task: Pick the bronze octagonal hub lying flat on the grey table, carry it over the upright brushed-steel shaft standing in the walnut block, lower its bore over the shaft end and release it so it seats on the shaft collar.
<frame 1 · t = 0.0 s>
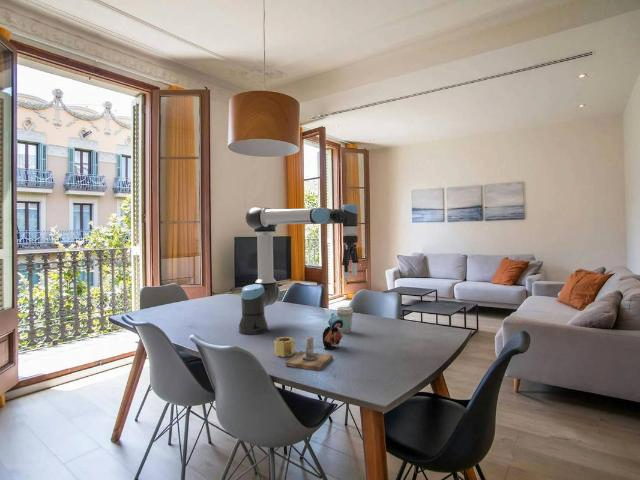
hand: (350, 277, 189), 28 cm above the table, fingers open, 13 cm apart
figurine: (333, 348, 164), on the table
hub: (284, 353, 157), on the table
shaft block: (309, 362, 146), on the table
coffee cup: (345, 332, 190), on the table
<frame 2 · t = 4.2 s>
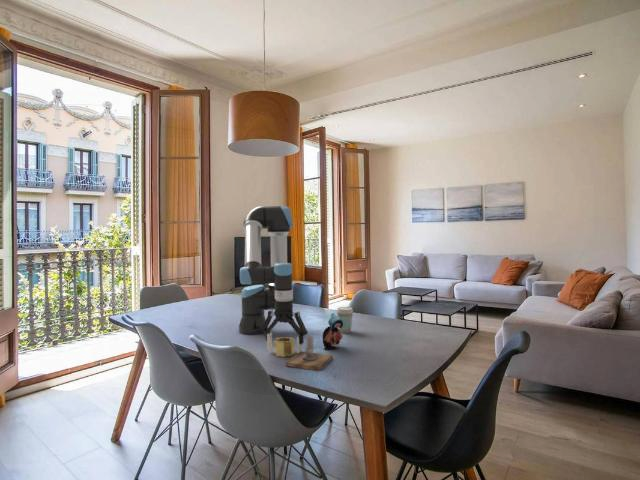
hand: (284, 350, 156), 1 cm above the table, fingers open, 13 cm apart
nothing on the table moved.
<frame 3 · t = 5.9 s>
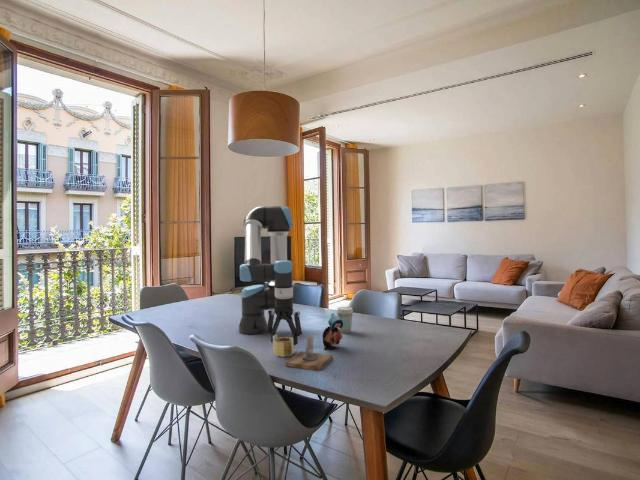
hand: (284, 351, 157), 1 cm above the table, fingers closed on hub, 8 cm apart
hub: (284, 353, 157), on the table, touching gripper
everything else where it was.
when the fingers open (4 cm above the table, at t = 10.6 s): hub stays where it is, resting on shaft block.
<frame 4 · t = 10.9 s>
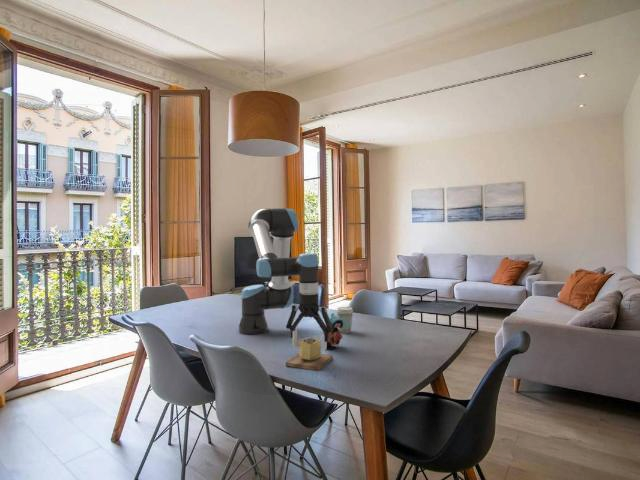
hand: (309, 348, 146), 6 cm above the table, fingers open, 12 cm apart
hub: (309, 355, 146), point 2 cm above the table, touching shaft block
everything else where it was.
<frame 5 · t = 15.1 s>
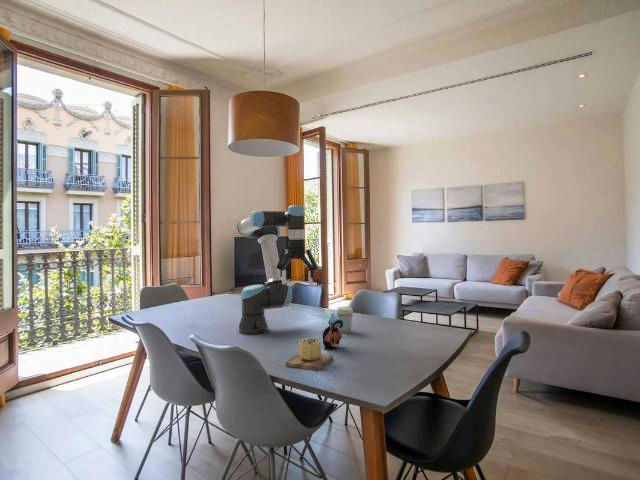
hand: (297, 284, 174), 27 cm above the table, fingers open, 13 cm apart
nothing on the table moved.
at the end: hub 0.1 cm off-centre on the shaft block, point 2.5 cm above the shaft block's base; hub tilted 0°; the gripper is holding nothing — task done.
